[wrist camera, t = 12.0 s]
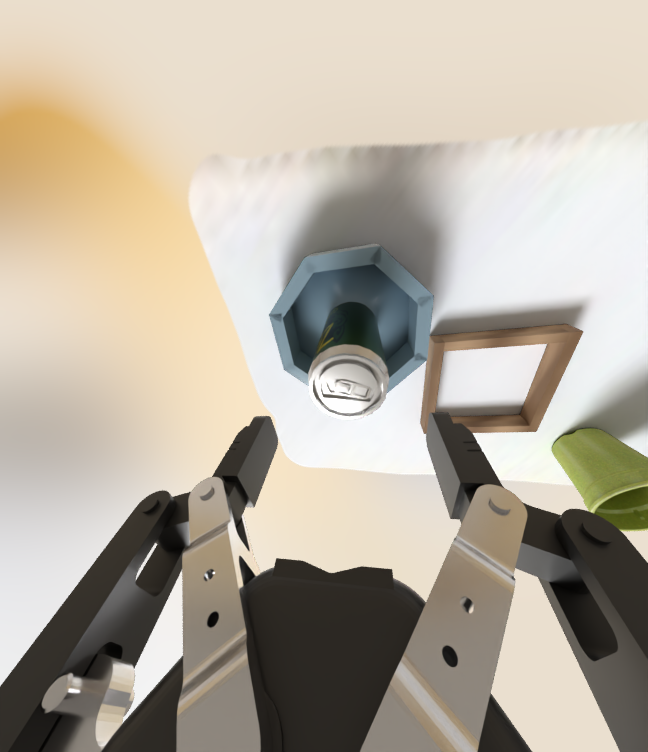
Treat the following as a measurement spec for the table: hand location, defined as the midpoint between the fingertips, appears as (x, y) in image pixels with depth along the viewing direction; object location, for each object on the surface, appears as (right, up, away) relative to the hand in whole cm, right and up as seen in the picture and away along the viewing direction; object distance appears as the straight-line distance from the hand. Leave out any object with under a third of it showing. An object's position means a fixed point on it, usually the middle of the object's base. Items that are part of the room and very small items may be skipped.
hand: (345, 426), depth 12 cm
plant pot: (+33, -6, +19) cm, 39 cm away
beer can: (+2, +8, +13) cm, 15 cm away
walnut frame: (+18, +2, +16) cm, 24 cm away
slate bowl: (+2, +9, +14) cm, 16 cm away
